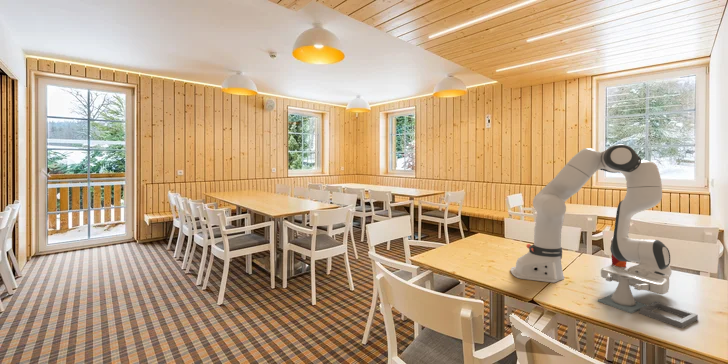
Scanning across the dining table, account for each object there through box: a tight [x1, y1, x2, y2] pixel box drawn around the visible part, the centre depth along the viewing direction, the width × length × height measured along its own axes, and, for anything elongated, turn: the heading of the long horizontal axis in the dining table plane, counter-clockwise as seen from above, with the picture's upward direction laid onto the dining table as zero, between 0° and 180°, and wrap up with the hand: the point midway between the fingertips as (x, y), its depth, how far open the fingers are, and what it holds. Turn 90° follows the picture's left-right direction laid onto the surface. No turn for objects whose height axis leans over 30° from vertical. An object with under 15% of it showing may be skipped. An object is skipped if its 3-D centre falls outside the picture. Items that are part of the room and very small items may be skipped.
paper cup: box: [609, 236, 627, 268], centre depth 165 cm, size 8×8×14 cm
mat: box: [597, 294, 648, 314], centre depth 123 cm, size 11×11×1 cm
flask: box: [611, 275, 637, 306], centre depth 122 cm, size 7×7×10 cm
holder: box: [639, 301, 699, 329], centre depth 113 cm, size 11×11×2 cm
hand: (621, 283), depth 122 cm, fingers open, 8 cm apart
